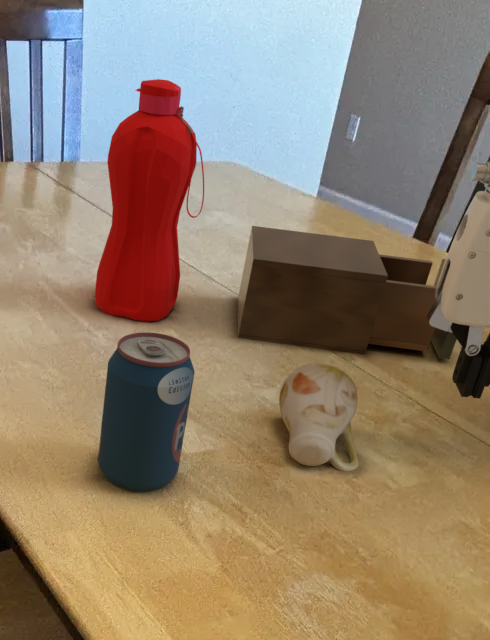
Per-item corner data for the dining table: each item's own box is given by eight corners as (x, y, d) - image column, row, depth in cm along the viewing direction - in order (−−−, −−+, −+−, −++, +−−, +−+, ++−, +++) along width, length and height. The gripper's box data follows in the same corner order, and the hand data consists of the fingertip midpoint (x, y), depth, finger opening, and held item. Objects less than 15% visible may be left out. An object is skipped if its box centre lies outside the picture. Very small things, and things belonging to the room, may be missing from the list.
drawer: (478, 328, 108) (501, 265, 103) (500, 366, 99) (526, 300, 94) (322, 307, 109) (338, 245, 105) (330, 343, 100) (348, 277, 96)
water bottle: (174, 333, 101) (210, 96, 86) (86, 314, 104) (105, 80, 89) (194, 307, 108) (230, 83, 94) (111, 290, 111) (133, 69, 96)
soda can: (188, 494, 74) (212, 363, 67) (110, 502, 72) (126, 368, 65) (159, 452, 79) (178, 327, 72) (86, 458, 77) (98, 330, 70)
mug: (267, 473, 78) (270, 359, 77) (282, 470, 87) (284, 368, 86) (355, 474, 75) (359, 356, 74) (360, 471, 84) (364, 366, 83)
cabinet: (352, 317, 110) (373, 240, 104) (364, 357, 100) (388, 275, 94) (237, 302, 111) (251, 225, 105) (237, 340, 101) (253, 258, 95)
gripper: (452, 188, 67) (390, 401, 78) (654, 205, 66) (563, 419, 77) (434, 164, 73) (379, 365, 84) (619, 179, 72) (539, 381, 83)
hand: (467, 390), depth 80 cm, fingers closed
